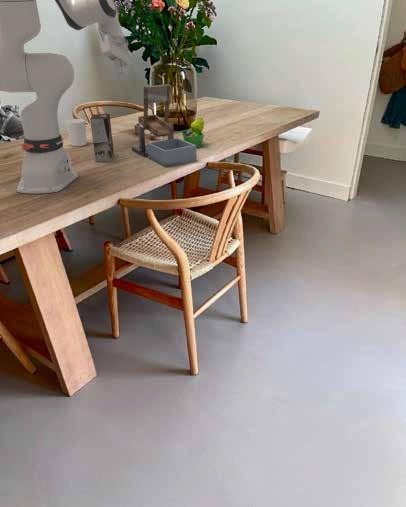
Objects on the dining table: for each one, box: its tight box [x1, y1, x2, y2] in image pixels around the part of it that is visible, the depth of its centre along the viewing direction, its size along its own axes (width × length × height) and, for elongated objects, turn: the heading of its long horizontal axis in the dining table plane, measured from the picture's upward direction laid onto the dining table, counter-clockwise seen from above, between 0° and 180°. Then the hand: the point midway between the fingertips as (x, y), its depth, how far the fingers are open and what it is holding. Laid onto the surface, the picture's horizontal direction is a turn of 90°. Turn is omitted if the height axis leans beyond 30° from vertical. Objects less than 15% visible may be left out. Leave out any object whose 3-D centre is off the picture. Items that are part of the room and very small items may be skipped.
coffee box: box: [89, 113, 115, 163], centre depth 162 cm, size 9×6×16 cm
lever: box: [137, 83, 174, 138], centre depth 164 cm, size 15×10×17 cm
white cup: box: [65, 118, 88, 147], centre depth 182 cm, size 8×8×10 cm
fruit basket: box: [181, 116, 205, 148], centre depth 180 cm, size 11×9×11 cm
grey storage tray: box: [146, 137, 198, 168], centre depth 163 cm, size 14×14×6 cm
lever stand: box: [131, 122, 175, 158], centre depth 172 cm, size 11×15×11 cm
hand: (120, 73), depth 167 cm, fingers closed
